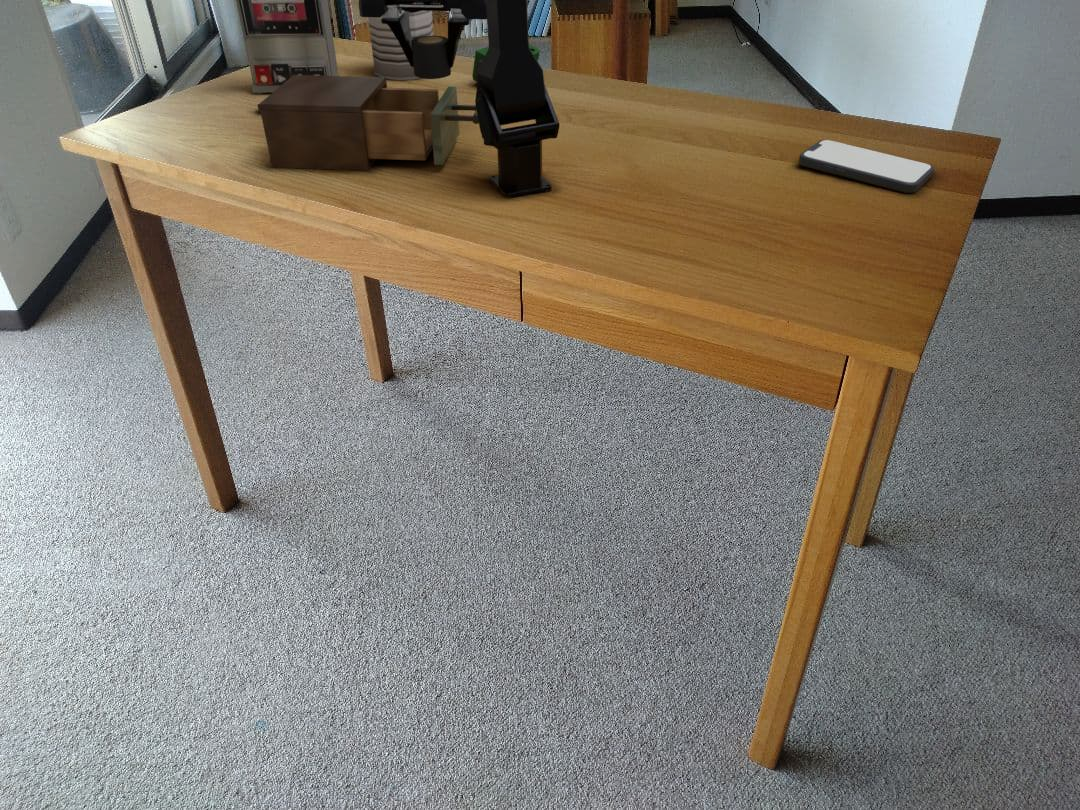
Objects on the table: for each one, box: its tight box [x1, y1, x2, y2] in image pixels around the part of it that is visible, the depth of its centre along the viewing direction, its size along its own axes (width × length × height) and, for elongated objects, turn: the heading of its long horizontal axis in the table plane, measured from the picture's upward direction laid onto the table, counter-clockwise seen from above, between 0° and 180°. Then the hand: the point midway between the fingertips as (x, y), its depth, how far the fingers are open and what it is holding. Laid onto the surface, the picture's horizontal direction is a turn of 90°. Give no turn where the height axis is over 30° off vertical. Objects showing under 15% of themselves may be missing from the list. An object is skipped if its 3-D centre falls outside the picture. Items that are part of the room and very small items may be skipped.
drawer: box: [362, 86, 479, 166], centre depth 115 cm, size 17×12×7 cm
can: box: [367, 3, 435, 81], centre depth 147 cm, size 11×11×12 cm
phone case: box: [798, 139, 935, 194], centre depth 111 cm, size 9×2×16 cm
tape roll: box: [411, 35, 452, 80], centre depth 123 cm, size 6×6×5 cm
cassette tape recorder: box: [235, 0, 341, 95], centre depth 135 cm, size 14×6×25 cm, turn 92°
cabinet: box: [258, 75, 388, 172], centre depth 116 cm, size 14×14×9 cm
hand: (432, 66), depth 123 cm, fingers closed on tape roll, 5 cm apart
